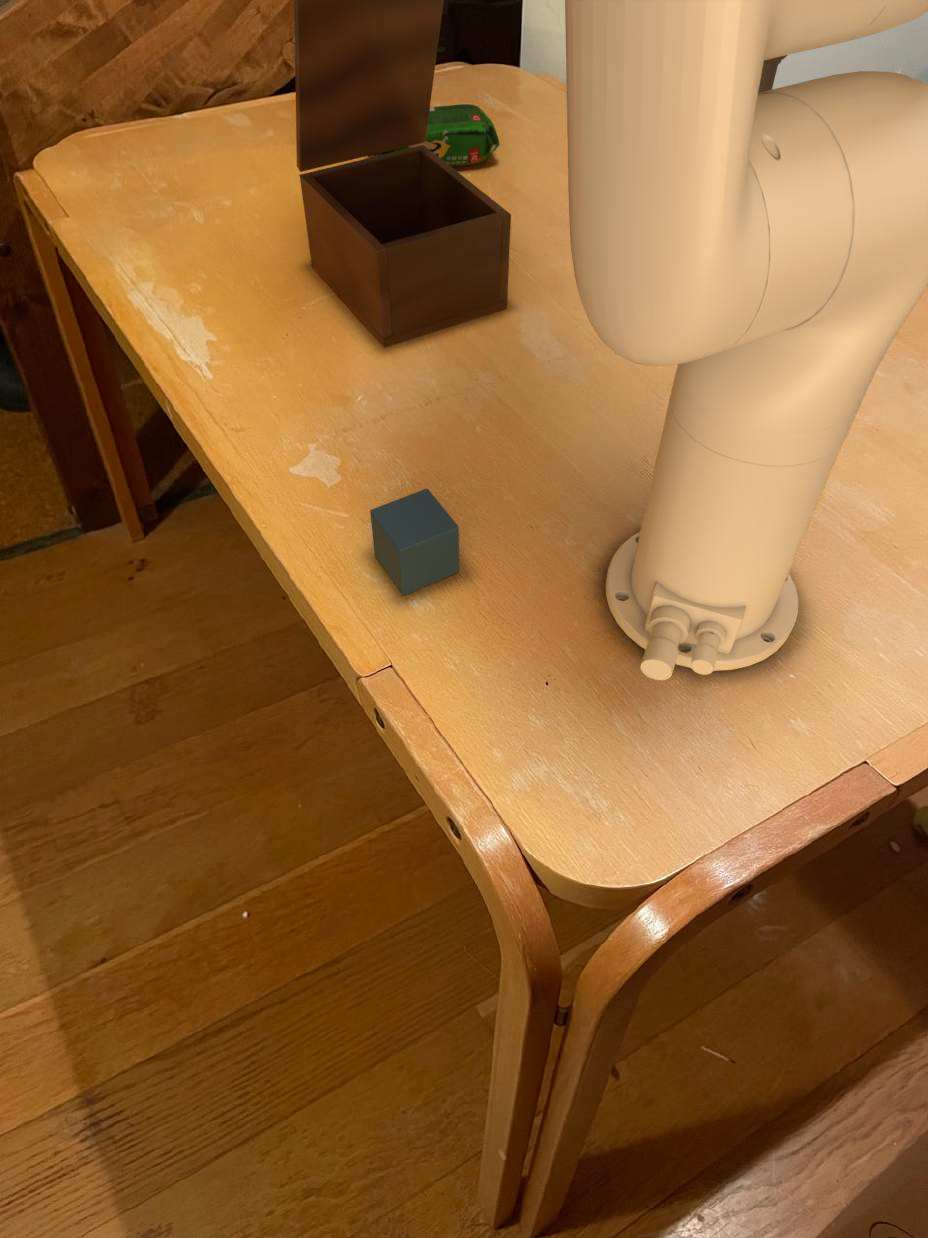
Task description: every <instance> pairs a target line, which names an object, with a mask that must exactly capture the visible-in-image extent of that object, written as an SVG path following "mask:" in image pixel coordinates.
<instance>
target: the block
mask: <svg viewBox="0 0 928 1238" xmlns="http://www.w3.org/2000/svg"><path fill="white" fill-rule="evenodd" d="M369 514H370V524H371V525H370V526H371V533H372V543H373V544H372V545H373V552H374V557H375V558H376V559H377V561H378V563H379V564H380V566H381V567H382V568H383V570H384V571H385V572H386V573H387V575H388V576H389V578H390V579H391V581H392V582H393V583H394V585H395V586H396V588H397V589H398V591H399V592H400V593H401V595H402V596H406V595H408V594H410V593H411V594H412V593H413V592H415V591H418V590H421V589H422V588H425V587H428V586H430V585H432V584H434V583H437V582H439V581H442V580H444V579H447V578H449V577H451V576H454V575H456V574H458V573H459V572H460V527H459V525H458V524H457V523H456V522H455V520H454V518H452V517H451V515H450V514H449V513H448V511H447V510H446V509H445V508H444V507H443V506H442V504H441V503H440V502H439V500H438V499H437V498H436V497H435V496H434V495H433V493H432V492H431V490H429V489H428V488H424V489H421V490H419V491H416V492H414V493H411V494H409V495H406V496H404V497H401V498H398V499H395V500H392V501H390V502H387V503H385V504H382V505H380V506H376V507H375V508H372V509H370V510H369Z"/></svg>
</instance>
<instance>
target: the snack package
mask: <svg viewBox="0 0 928 1238" xmlns="http://www.w3.org/2000/svg"><path fill="white" fill-rule="evenodd" d="M422 145H424V146H425V147H427V148H428V149H429V150H431V151H432V152H433V153H434V154H436V155H437V156H438V157H439V158H441V159H442V160H443V161H444V162H446V163H447V164H448V165H449V166H451V167H452V168H455V167H464V166H473V165H476V164H480V163H482V162H484V161H485V160H486V159H487V158H488V157H490V155H491V154H492V153H493V152H495V150H497V149H498V148H499V146H500V140H499V136H498V134H497V131H496V127H495V125H494V123H493V121H492V120H491V119H490V117H489V116H488V114H486V113H485V111H483V110H482V109H481V108H480V107H479V106H477V105H475V104H471V103H462V104H461V103H460V104H452V105H451V104H450V105H441V106H430V110H429V117H428V125H427V133H426V141H425V142H424V143H420V144H416V145H411V146H407V147H403V148H399V149H395V150H390V151H386V152H382V153H378V154H374V155H369V156H367V158H371V157H375V156H380V155H384V154H388V153H392V152H396V151H400V150H405V149H409V148H413V147H417V146H422Z"/></svg>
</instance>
